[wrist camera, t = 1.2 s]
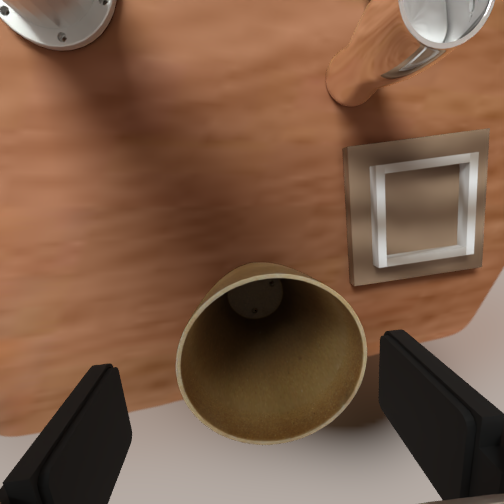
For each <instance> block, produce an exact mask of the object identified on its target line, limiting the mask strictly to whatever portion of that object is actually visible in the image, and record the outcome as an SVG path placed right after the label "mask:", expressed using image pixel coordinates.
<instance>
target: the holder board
mask: <svg viewBox="0 0 504 504" xmlns="http://www.w3.org/2000/svg"><path fill="white" fill-rule="evenodd" d="M489 131H490V128H488V129H481V130H473V131H465V132H458V133H450V134H442V135H435V136H427V137H419V138H412V139H404V140H396V141H389V142H381V143H373V144H366V145H358V146H350V147H346V148H343V165H344V184H345V202H346V220H347V238H348V257H349V275H350V283H351V284H352V285H354V286H359V285H366V284H373V283H379V282H386V281H393V280H399V279H406V278H413V277H419V276H426V275H433V274H439V273H446V272H453V271H459V270H466V269H473V268H479V267H482V257H483V239H484V221H485V203H486V185H487V167H488V149H489Z"/></svg>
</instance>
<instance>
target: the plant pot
mask: <svg viewBox="0 0 504 504" xmlns="http://www.w3.org/2000/svg"><path fill="white" fill-rule="evenodd" d="M272 281H273V283H272V284H270V282H272ZM255 309H257V311H256V312H255ZM366 362H367V344H366V338H365V333H364V330H363V327H362V324H361V322H360V320H359V318H358V316H357V315H356V313H355V312H354V310H353V309H352V307H351V306H350V305H349V304H348V302H347V301H346V300H345V299H344V298H343V297H342V296H340V295H339V294H338V293H337V292H335V291H334V290H333V289H331V288H330V287H328V286H326V285H324V284H323V283H321V282H319V281H317V280H315V279H313V278H312V277H310V276H308V275H306V274H304V273H302V272H299V271H297V270H295V269H292V268H289V267H286V266H283V265H279V264H275V263H268V262H255V263H249V264H245V265H242V266H240V267H238V268H236V269H234V270H232V271H231V272H229V273H228V274H227V275H225V276H224V277H223V278H222V279H221V280H219V281H218V282H217V283H216V284H215V285H214V286H213V288H212V289H211V290H210V291H209V292H208V293H207V295H206V296H205V297H204V299H203V300H202V301H201V303H200V304H199V306H198V307H197V309H196V310H195V312H194V313H193V315H192V317H191V318H190V320H189V322H188V324H187V326H186V328H185V330H184V332H183V334H182V336H181V339H180V342H179V346H178V350H177V356H176V376H177V381H178V385H179V389H180V392H181V394H182V396H183V399H184V401H185V402H186V404H187V406H188V407H189V409H190V410H191V411H192V413H193V414H194V415H195V416H196V417H197V418H198V419H199V420H200V421H201V422H202V423H203V424H204V425H205V426H207V427H208V428H210V429H211V430H213V431H215V432H216V433H218V434H220V435H222V436H224V437H227V438H229V439H232V440H236V441H239V442H243V443H248V444H257V445H258V444H259V445H272V444H280V443H285V442H290V441H294V440H298V439H301V438H303V437H306V436H308V435H311V434H313V433H315V432H316V431H318V430H320V429H322V428H323V427H325V426H326V425H328V424H329V423H331V422H332V421H333V420H334V419H335V418H336V417H338V416H339V415H340V414H341V413H342V412H343V410H344V409H345V408H346V407H347V406H348V405H349V403H350V402H351V400H352V399H353V397H354V396H355V394H356V392H357V390H358V388H359V386H360V384H361V382H362V379H363V376H364V372H365V368H366Z"/></svg>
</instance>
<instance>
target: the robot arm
mask: <svg viewBox="0 0 504 504" xmlns="http://www.w3.org/2000/svg"><path fill="white" fill-rule="evenodd" d="M116 1H117V0H0V18H1V19H2V20H3V21H4V22H5V23H6V24H7V25H8V26H9V27H10V28H11V29H12V30H14V31H15V32H17V33H18V34H19V35H21V36H22V37H23V38H25V39H27V40H29V41H30V42H32V43H34V44H36V45H38V46H41V47H44V48H47V49H52V50H59V51H63V50H74V49H77V48H81V47H84V46H86V45H87V44H89V43H91V42H93V41H94V40H95V39H96V38H97V37H99V36H100V35H101V34H102V33H103V31H104V30H105V29H106V27H107V26H108V24H109V22H110V20H111V18H112V16H113V13H114V10H115V5H116ZM106 3H107V4H106ZM105 4H106V5H105ZM65 40H66V41H65ZM379 403H380V406H381V409H382V411H383V412H384V414H385V415H386V417H387V418H388V420H389V421H390V422H391V424H392V426H393V427H394V429H395V430H396V431H397V433H398V434H399V436H400V437H401V439H402V440H403V442H404V443H405V445H406V446H407V448H408V449H409V451H410V452H411V454H412V455H413V457H414V458H415V460H416V461H417V462H418V464H419V466H420V467H421V468H422V470H423V471H424V473H425V474H426V476H427V477H428V479H429V480H430V482H431V483H432V485H433V486H434V488H435V489H436V490H437V492H438V494H439V495H440V497H441V498H442V501H435V502H427V503H421V504H504V414H503V413H502V412H501V411H500V410H499V409H498V408H496V407H495V406H494V405H493V404H492V403H490V402H489V401H488V400H487V399H486V398H484V397H483V396H482V395H481V394H479V393H478V392H477V391H476V390H475V389H474V388H472V387H471V386H470V385H469V384H468V383H466V382H465V381H464V380H463V379H462V378H460V377H459V376H458V375H457V374H456V373H454V372H453V371H452V370H451V369H450V368H448V367H447V366H446V365H445V364H444V363H442V362H441V361H440V360H439V359H438V358H437V357H435V356H434V355H433V354H432V353H431V352H429V351H428V350H427V349H426V348H425V347H423V346H422V345H421V344H420V343H419V342H417V341H416V340H415V339H414V338H413V337H411V336H410V335H409V334H408V333H407V332H405V331H404V330H393V331H386V332H385V334H384V336H381V338H380V364H379ZM131 440H132V429H131V425H130V421H129V416H128V411H127V406H126V402H125V397H124V393H123V388H122V384H121V379H120V375H119V370H118V368H116V367H114V368H113V365H112V364H102V365H94V366H92V367H91V368H90V369H89V370H88V372H87V373H86V374H85V376H84V377H83V378H82V379H81V381H80V382H79V383H78V385H77V386H76V387H75V389H74V390H73V391H72V393H71V394H70V395H69V397H68V398H67V399H66V400H65V402H64V403H63V404H62V406H61V407H60V408H59V410H58V411H57V412H56V414H55V415H54V416H53V417H52V419H51V420H50V421H49V423H48V424H47V425H46V427H45V428H44V429H43V431H42V432H41V433H40V435H39V436H38V437H37V438H36V440H35V441H34V442H33V444H32V445H31V446H30V448H29V449H28V450H27V452H26V453H25V454H24V456H23V457H22V458H21V459H20V461H19V462H18V463H17V465H16V466H15V467H14V469H13V470H12V471H11V473H10V474H9V475H8V477H7V478H6V479H5V480H4V482H3V486H2V488H1V489H0V504H108V502H109V499H110V496H111V494H112V491H113V489H114V486H115V483H116V481H117V478H118V476H119V473H120V470H121V468H122V465H123V463H124V460H125V457H126V454H127V452H128V449H129V447H130V444H131Z"/></svg>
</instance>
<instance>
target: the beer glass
mask: <svg viewBox="0 0 504 504" xmlns="http://www.w3.org/2000/svg"><path fill="white" fill-rule="evenodd" d="M494 2H495V0H371V1H370V3H369V4H368V6H367V7H366V9H365V11H364V13H363V14H362V16H361V18H360V20H359V22H358V24H357V26H356V29H355V31H354V33H353V35H352V38H351V40H350V42H349V44H348V46H347V47H345V48H344V49H342V50H341V51H339V52H338V53H337V54H336V55H335V56H334V57H333V58H332V60H331V61H330V63H329V66H328V69H327V73H326V85H327V89H328V91H329V93H330V95H331V97H332V98H333V99H334V100H335V101H336V102H338V103H339V104H341V105H344V106H357V105H360V104H362V103H364V102H365V101H367V100H368V99H369V98H370V97H371V96H372V95H373V94H374V92H375V91H376V90H377V89H379V88H382V87H386V86H389V85H393V84H396V83H399V82H402V81H404V80H407V79H409V78H412V77H414V76H415V75H417V74H419V73H421V72H423V71H424V70H426V69H428V68H429V67H431V66H432V65H434V64H435V63H437V62H438V61H440V60H441V59H443V58H444V57H445V56H447V55H448V54H449V53H451V52H452V51H453V50H455V49H456V48H457V47H458V46H460V45H461V44H463V43H464V42H466V41H468V40H469V39H470V38H472V37H473V36H474V35H475V34H476V33H477V32H478V31H479V30H480V29H481V27H482V26H483V25H484V23H485V22H486V20H487V19H488V17H489V15H490V13H491V11H492V8H493V5H494Z"/></svg>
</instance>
